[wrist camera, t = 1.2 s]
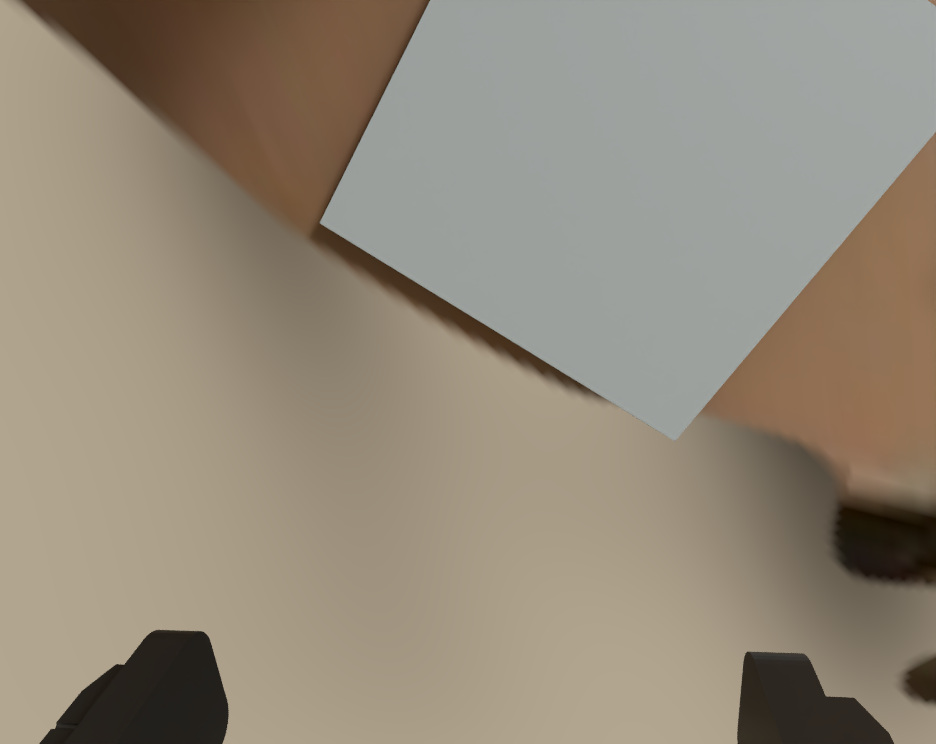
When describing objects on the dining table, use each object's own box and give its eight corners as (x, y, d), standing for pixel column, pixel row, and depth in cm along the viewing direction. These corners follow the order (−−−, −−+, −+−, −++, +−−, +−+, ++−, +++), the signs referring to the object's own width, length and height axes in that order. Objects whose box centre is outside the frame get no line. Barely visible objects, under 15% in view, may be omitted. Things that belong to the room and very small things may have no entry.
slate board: (559, -248, 25) (559, -261, 24) (986, 55, 27) (1001, 53, 26) (326, 219, 33) (319, 223, 32) (671, 432, 34) (674, 441, 33)
